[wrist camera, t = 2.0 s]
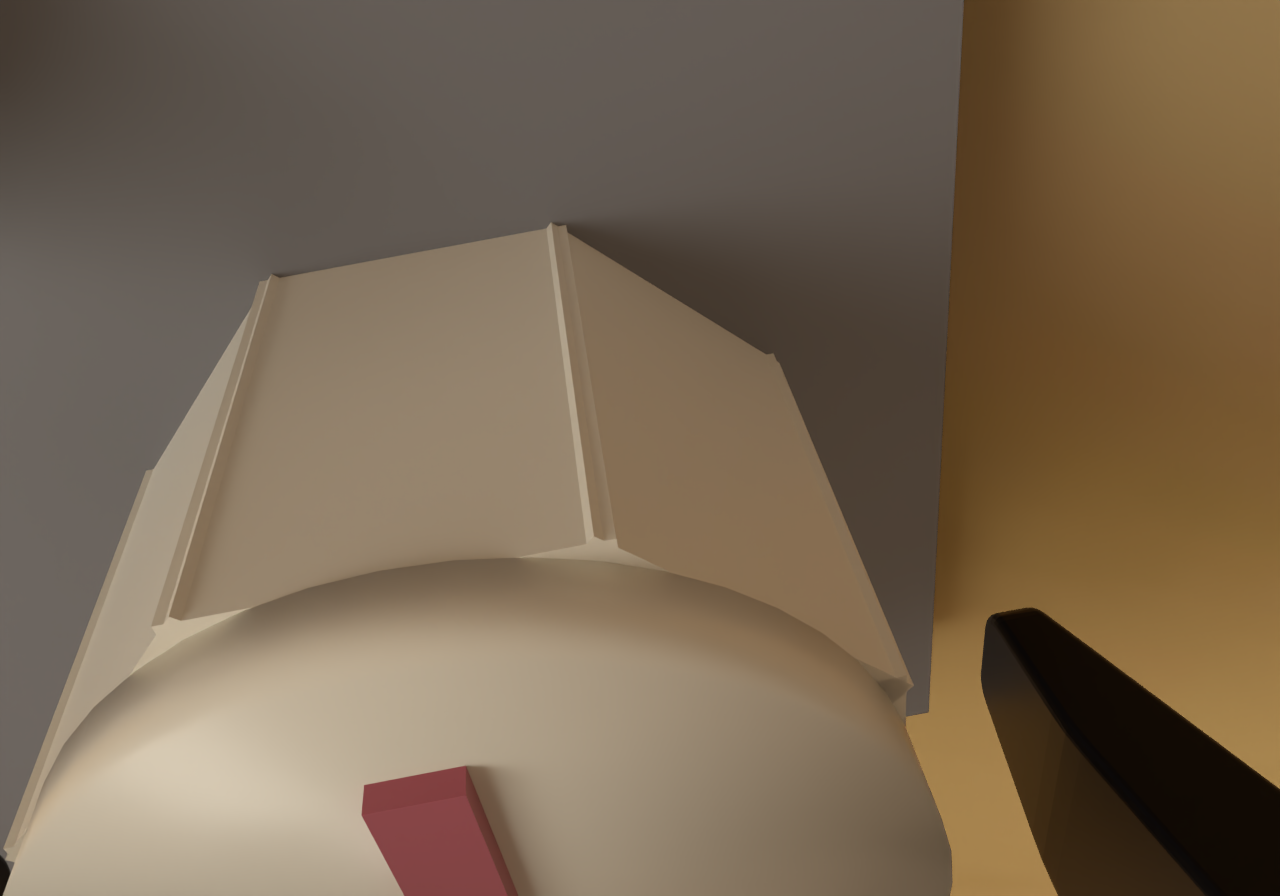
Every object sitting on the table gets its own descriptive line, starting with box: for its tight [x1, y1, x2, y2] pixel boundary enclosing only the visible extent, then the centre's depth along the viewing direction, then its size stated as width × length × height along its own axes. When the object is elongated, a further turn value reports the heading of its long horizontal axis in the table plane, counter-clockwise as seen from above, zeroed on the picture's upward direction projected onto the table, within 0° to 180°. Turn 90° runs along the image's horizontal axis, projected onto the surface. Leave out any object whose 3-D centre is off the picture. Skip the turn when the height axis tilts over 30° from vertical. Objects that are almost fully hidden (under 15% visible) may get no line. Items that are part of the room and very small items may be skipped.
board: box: [0, 0, 964, 873], centre depth 9 cm, size 16×14×5 cm
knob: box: [3, 222, 952, 896], centre depth 10 cm, size 7×7×5 cm
